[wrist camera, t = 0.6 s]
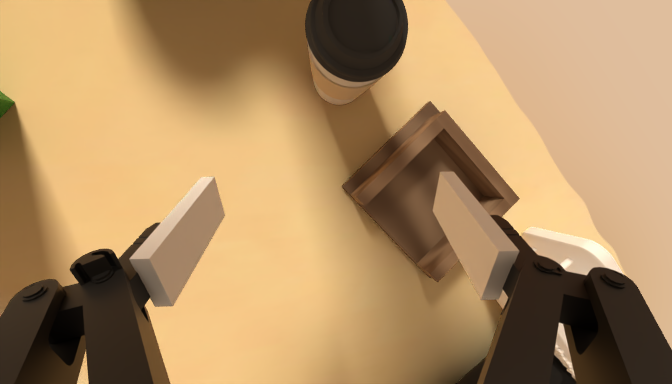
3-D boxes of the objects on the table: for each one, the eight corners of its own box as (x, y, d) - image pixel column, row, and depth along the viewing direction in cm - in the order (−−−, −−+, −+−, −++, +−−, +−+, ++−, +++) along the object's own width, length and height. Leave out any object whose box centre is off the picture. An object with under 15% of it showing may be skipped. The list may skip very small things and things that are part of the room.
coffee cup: (304, 111, 36) (305, 68, 21) (303, 40, 36) (305, -55, 21) (371, 114, 37) (417, 74, 23) (372, 45, 37) (420, -43, 22)
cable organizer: (570, 298, 43) (668, 343, 32) (518, 341, 42) (599, 403, 31) (521, 222, 41) (606, 241, 30) (466, 266, 41) (532, 302, 29)
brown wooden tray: (427, 275, 40) (445, 290, 35) (341, 186, 38) (347, 188, 33) (506, 195, 41) (534, 198, 36) (427, 103, 38) (445, 92, 33)
